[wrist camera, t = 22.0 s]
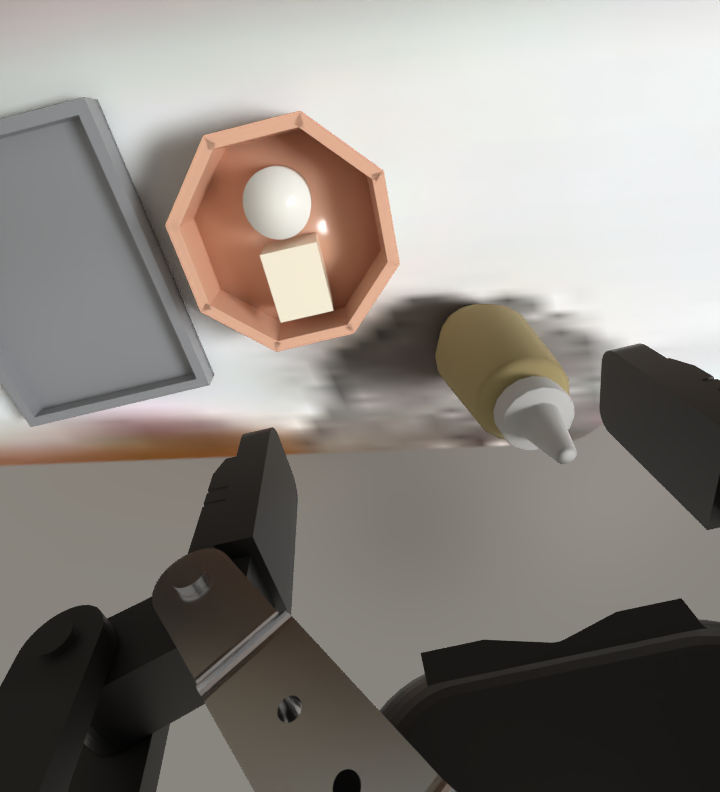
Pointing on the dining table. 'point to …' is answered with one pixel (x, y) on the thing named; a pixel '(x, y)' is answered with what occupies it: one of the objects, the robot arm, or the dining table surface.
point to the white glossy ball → (277, 201)
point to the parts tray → (83, 275)
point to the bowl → (242, 245)
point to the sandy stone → (297, 277)
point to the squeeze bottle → (507, 379)
